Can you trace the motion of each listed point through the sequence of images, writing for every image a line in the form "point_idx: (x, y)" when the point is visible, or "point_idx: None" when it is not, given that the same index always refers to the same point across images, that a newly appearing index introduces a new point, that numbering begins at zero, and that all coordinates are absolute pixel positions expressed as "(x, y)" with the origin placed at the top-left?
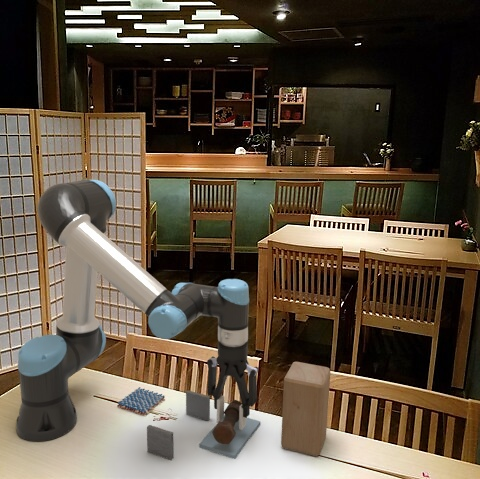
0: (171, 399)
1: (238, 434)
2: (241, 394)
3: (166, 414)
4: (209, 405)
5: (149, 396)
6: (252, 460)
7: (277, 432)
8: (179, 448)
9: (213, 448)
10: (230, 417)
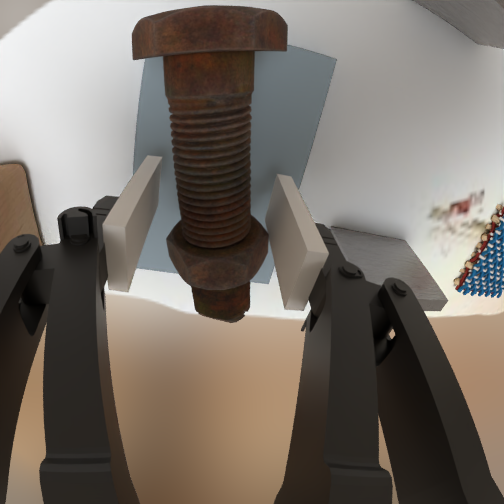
0: None
1: None
2: (76, 311)
3: (455, 225)
4: None
5: (489, 276)
6: (87, 51)
7: None
8: (400, 47)
9: None
10: (199, 163)
